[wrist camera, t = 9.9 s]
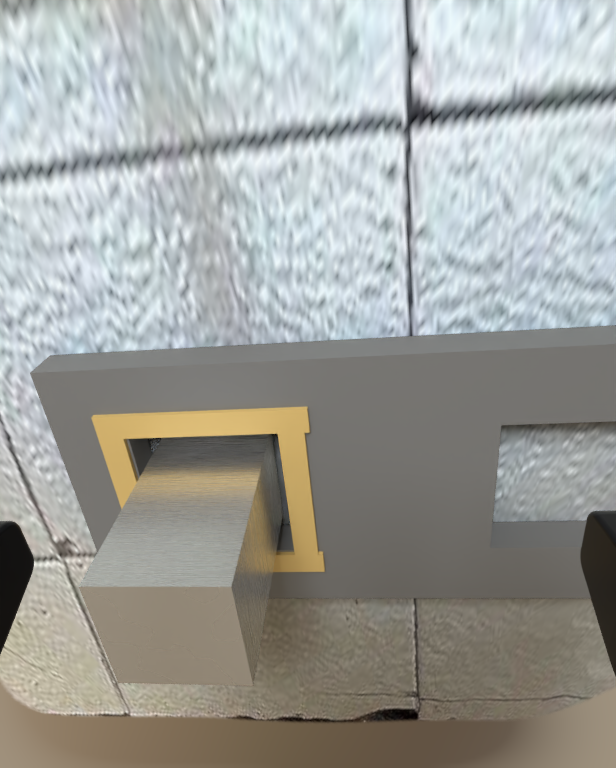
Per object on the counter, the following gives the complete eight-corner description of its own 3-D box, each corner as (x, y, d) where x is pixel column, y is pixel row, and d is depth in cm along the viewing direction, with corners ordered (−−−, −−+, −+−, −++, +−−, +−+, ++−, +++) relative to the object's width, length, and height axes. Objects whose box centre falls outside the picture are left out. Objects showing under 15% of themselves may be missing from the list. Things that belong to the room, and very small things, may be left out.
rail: (772, 317, 18) (809, 337, 17) (687, 570, 24) (709, 602, 22) (50, 355, 21) (27, 375, 20) (126, 573, 27) (113, 601, 25)
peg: (270, 428, 22) (230, 586, 15) (283, 512, 24) (253, 685, 17) (164, 432, 23) (78, 586, 16) (185, 514, 25) (118, 682, 18)
